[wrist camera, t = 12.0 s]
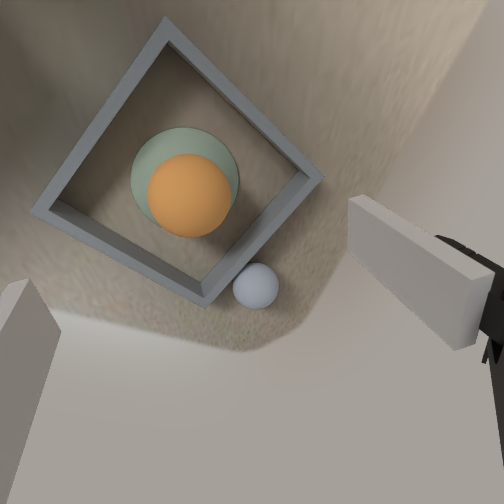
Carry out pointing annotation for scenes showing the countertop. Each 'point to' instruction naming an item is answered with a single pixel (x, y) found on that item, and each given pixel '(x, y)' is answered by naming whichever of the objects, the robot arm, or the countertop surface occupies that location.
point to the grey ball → (255, 286)
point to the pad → (173, 145)
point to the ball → (189, 195)
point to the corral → (132, 254)
